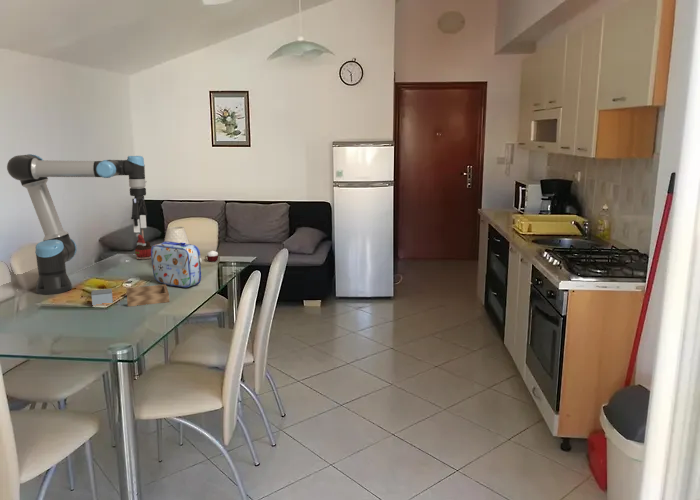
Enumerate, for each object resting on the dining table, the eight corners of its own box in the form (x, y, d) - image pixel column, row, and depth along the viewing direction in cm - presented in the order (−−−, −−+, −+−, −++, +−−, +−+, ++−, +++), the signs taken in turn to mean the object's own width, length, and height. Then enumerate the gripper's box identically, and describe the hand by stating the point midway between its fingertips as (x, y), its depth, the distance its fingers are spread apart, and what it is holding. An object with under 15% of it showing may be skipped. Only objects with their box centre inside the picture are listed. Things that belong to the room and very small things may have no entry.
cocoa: (204, 263, 325) (202, 243, 322) (206, 260, 331) (204, 240, 328) (221, 262, 326) (219, 242, 323) (223, 259, 332) (220, 239, 329)
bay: (127, 306, 242) (126, 297, 241) (127, 296, 257) (126, 288, 256) (169, 302, 248) (168, 293, 247) (166, 292, 263) (165, 284, 262)
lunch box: (207, 285, 275) (204, 241, 271) (192, 290, 266) (189, 245, 262) (166, 279, 288) (163, 236, 284) (150, 283, 279) (147, 240, 275)
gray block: (92, 307, 242) (91, 294, 240) (93, 303, 247) (91, 290, 246) (112, 305, 245) (111, 292, 243) (112, 301, 250) (111, 288, 249)
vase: (189, 273, 301) (186, 230, 296) (157, 273, 301) (153, 230, 296) (198, 265, 318) (196, 225, 313) (168, 265, 318) (165, 225, 313)
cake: (156, 258, 338) (154, 228, 334) (143, 261, 330) (141, 230, 327) (145, 256, 344) (142, 227, 340) (132, 259, 336) (129, 229, 332)
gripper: (139, 189, 266) (142, 234, 270) (151, 185, 290) (153, 226, 294) (122, 189, 265) (126, 234, 269) (136, 185, 289) (138, 226, 293)
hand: (140, 230), depth 281 cm, fingers open, 13 cm apart
